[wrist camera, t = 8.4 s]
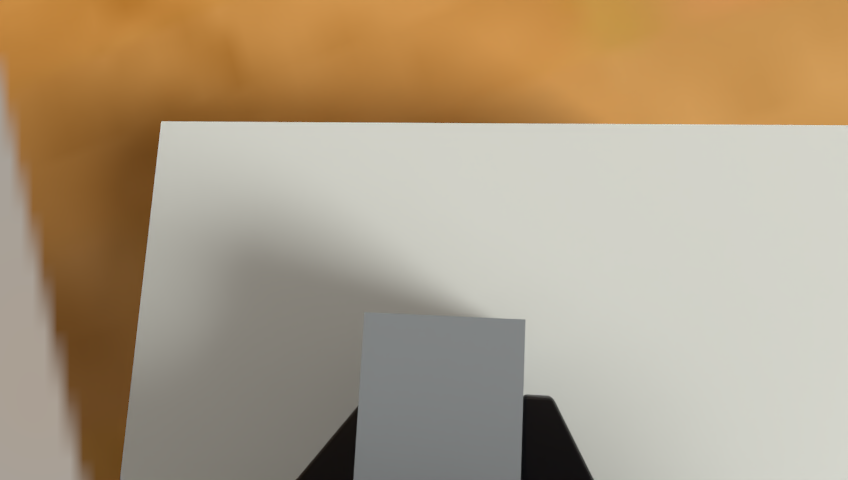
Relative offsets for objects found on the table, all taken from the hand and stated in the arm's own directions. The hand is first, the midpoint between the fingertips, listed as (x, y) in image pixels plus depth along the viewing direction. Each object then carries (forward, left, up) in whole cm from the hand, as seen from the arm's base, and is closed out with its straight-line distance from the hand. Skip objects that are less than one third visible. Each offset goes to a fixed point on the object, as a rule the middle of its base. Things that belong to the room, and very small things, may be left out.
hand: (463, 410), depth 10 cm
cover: (-1, 0, -8) cm, 9 cm away
